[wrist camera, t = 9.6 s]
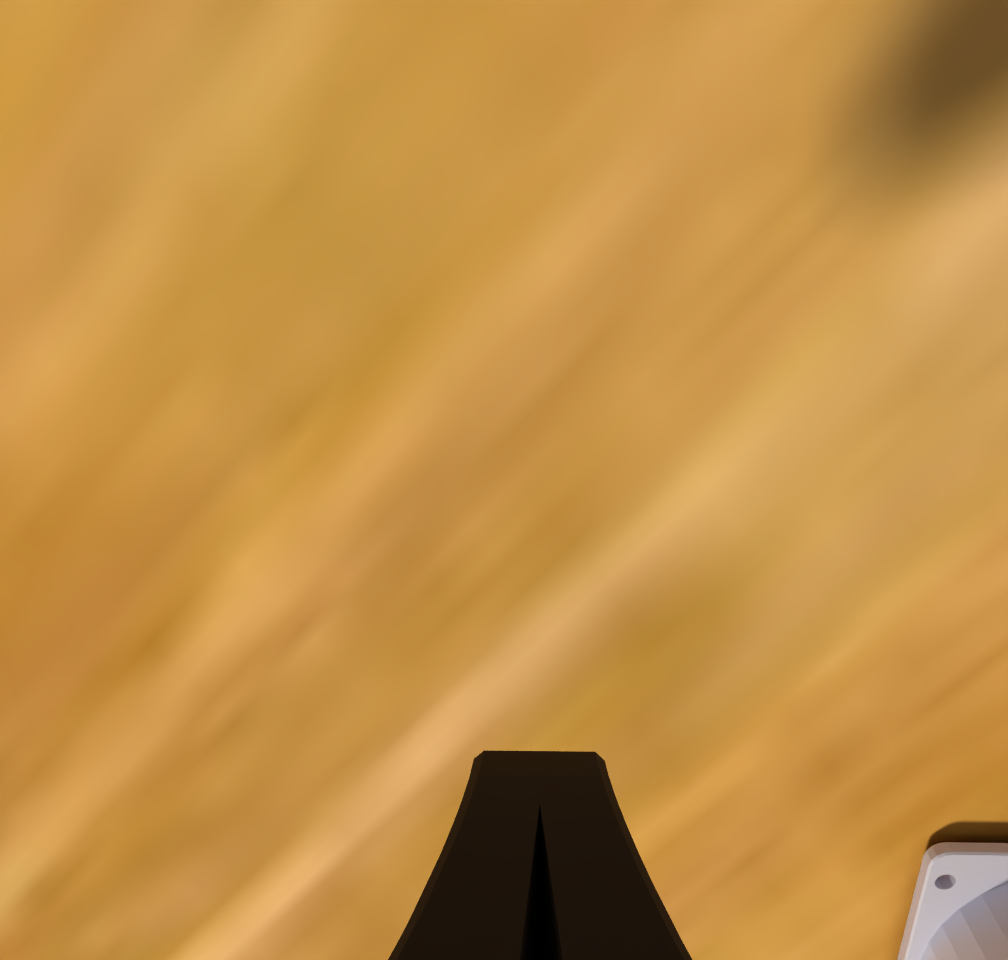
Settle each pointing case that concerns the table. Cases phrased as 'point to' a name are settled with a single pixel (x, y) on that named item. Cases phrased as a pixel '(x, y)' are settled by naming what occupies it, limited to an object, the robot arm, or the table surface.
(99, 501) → the table surface
